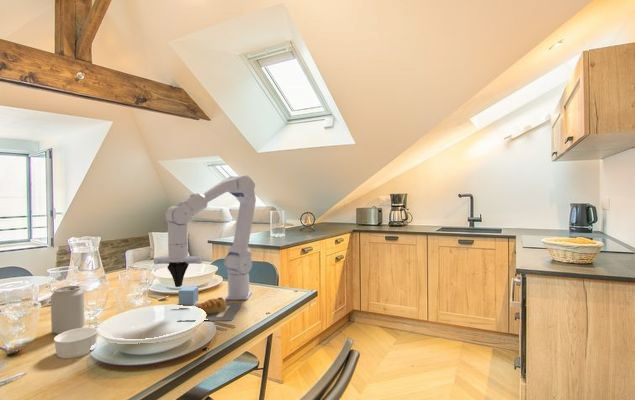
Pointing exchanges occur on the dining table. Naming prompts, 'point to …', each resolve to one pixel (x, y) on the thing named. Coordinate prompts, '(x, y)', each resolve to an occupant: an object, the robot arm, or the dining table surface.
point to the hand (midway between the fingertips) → (178, 286)
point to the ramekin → (75, 342)
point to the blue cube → (188, 295)
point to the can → (67, 309)
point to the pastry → (213, 306)
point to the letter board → (224, 312)
